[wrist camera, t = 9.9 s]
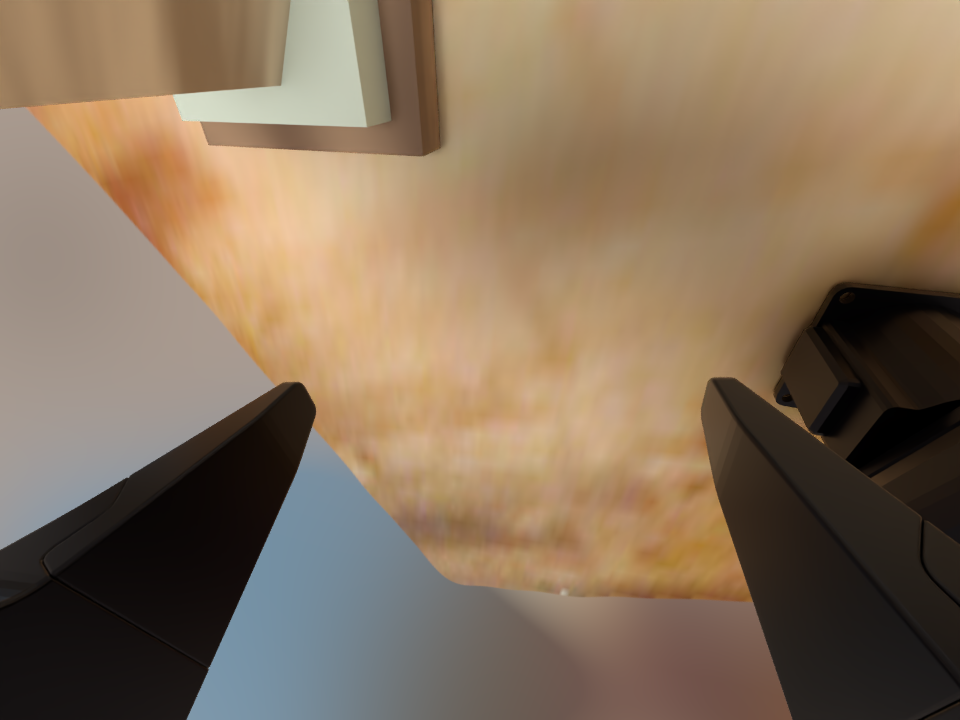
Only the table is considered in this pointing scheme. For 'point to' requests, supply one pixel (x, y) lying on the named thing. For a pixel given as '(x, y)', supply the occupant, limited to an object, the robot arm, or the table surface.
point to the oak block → (137, 48)
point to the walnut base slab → (408, 91)
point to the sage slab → (313, 73)
